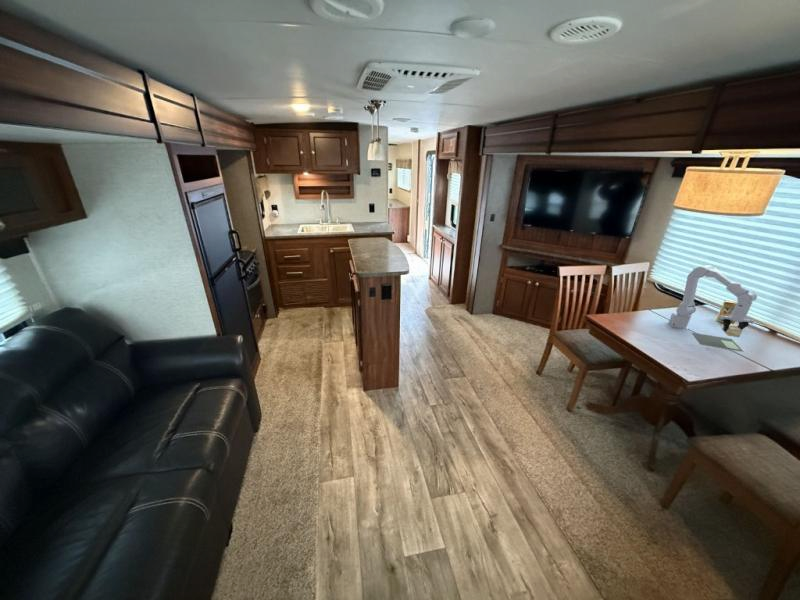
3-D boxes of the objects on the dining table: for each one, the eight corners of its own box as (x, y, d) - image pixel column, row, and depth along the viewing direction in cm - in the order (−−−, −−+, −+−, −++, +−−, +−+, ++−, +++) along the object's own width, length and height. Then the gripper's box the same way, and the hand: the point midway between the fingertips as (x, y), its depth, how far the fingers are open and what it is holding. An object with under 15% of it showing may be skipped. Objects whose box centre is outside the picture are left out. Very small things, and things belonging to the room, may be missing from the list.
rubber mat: (699, 344, 189) (700, 344, 189) (691, 332, 202) (691, 332, 202) (743, 352, 181) (743, 351, 181) (731, 339, 194) (731, 338, 194)
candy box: (716, 321, 216) (725, 301, 210) (715, 319, 219) (724, 299, 212) (733, 325, 210) (743, 305, 204) (733, 322, 213) (742, 303, 207)
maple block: (721, 329, 191) (724, 322, 189) (732, 330, 189) (735, 324, 187) (727, 335, 183) (730, 329, 182) (739, 337, 181) (742, 330, 180)
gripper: (726, 312, 180) (717, 331, 185) (760, 316, 174) (750, 336, 179) (721, 307, 186) (713, 326, 191) (754, 311, 180) (744, 331, 185)
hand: (730, 331), depth 186 cm, fingers closed on maple block, 5 cm apart
